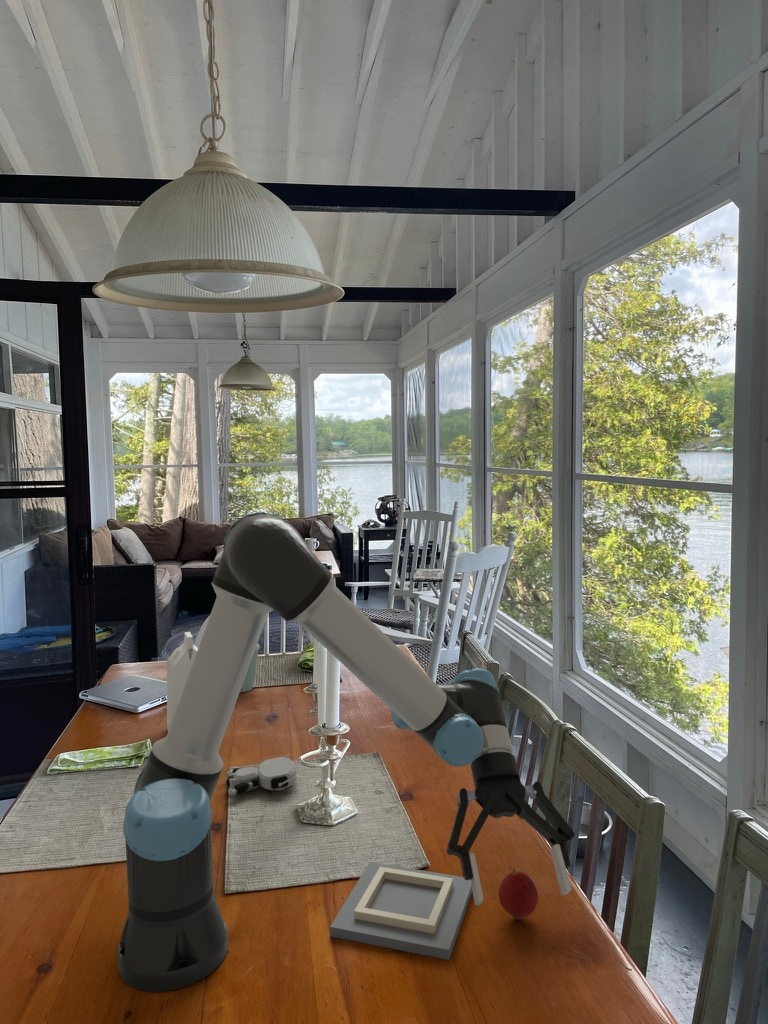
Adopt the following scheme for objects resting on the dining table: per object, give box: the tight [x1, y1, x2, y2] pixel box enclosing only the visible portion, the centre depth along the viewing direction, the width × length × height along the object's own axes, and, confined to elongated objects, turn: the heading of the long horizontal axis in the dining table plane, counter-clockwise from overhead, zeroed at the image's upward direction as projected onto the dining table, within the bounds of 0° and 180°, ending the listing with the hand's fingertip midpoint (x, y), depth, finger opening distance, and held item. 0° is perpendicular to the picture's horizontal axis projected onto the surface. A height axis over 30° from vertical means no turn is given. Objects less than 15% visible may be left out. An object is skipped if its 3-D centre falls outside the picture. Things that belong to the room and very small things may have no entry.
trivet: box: [329, 861, 473, 961], centre depth 114 cm, size 18×18×3 cm
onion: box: [498, 867, 539, 920], centre depth 111 cm, size 6×6×8 cm
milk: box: [166, 631, 199, 732], centre depth 189 cm, size 12×12×26 cm
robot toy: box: [225, 754, 298, 796], centre depth 158 cm, size 12×4×15 cm
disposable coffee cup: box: [240, 643, 261, 693], centre depth 225 cm, size 11×11×15 cm
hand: (523, 897), depth 109 cm, fingers open, 13 cm apart
